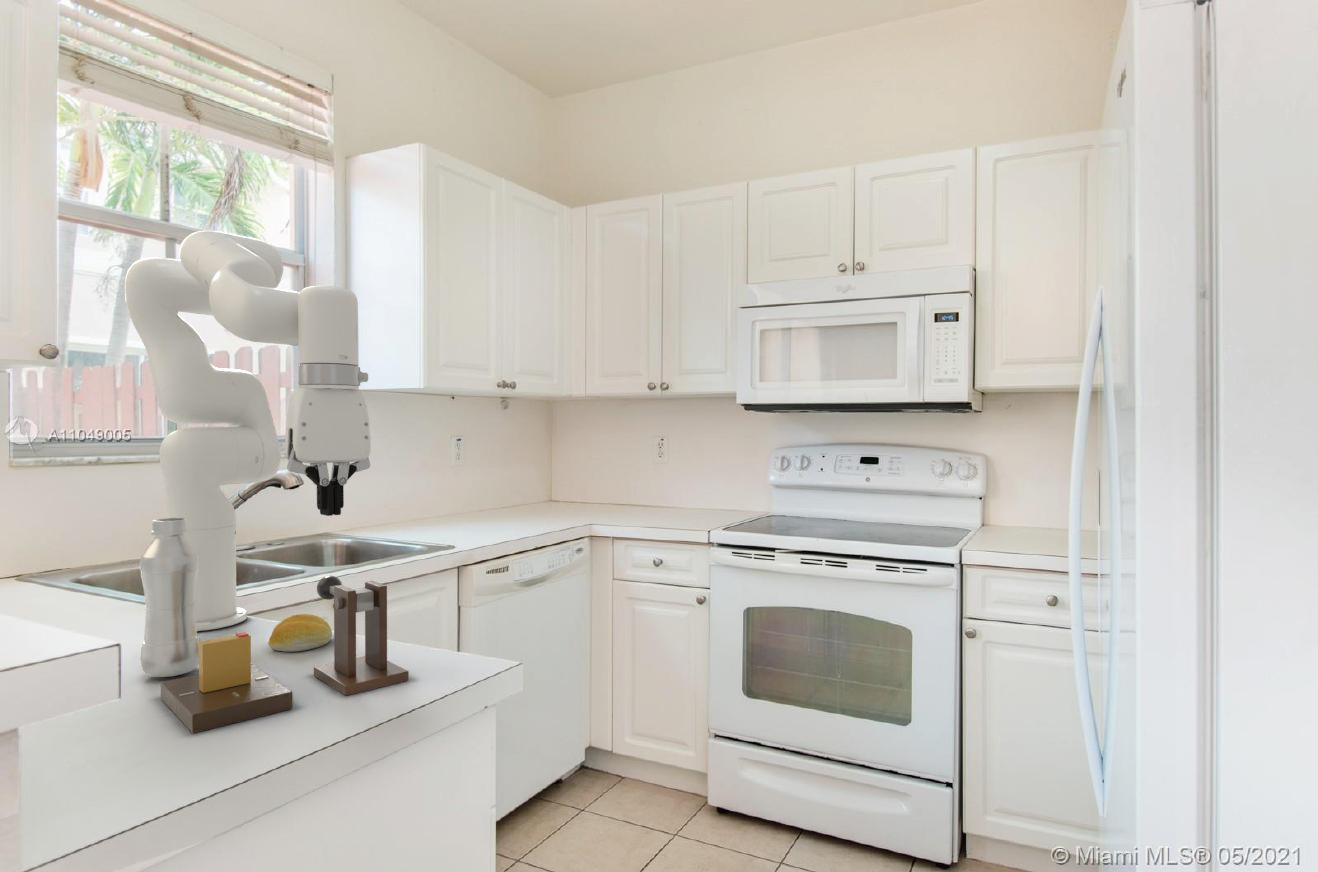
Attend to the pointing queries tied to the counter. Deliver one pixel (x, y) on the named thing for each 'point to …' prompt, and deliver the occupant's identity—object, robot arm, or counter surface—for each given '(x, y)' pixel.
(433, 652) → the counter surface
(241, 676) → the lock knob
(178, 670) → the plastic bottle
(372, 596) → the door lever
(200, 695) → the plate
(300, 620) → the bread roll
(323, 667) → the handle bracket
